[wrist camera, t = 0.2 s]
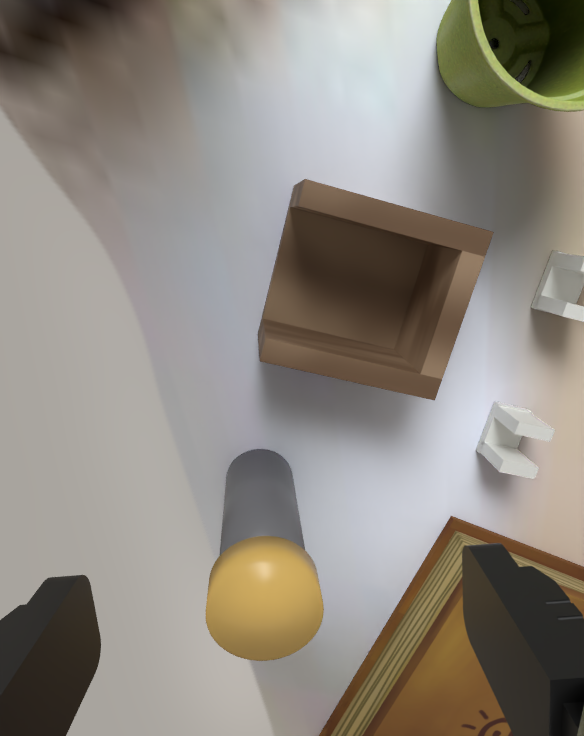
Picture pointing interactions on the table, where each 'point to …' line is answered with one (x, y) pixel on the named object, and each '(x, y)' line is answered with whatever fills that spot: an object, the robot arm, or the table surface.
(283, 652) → the connector plug
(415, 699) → the diary
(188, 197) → the table surface
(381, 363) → the end holder
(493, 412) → the clips
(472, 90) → the plant pot
